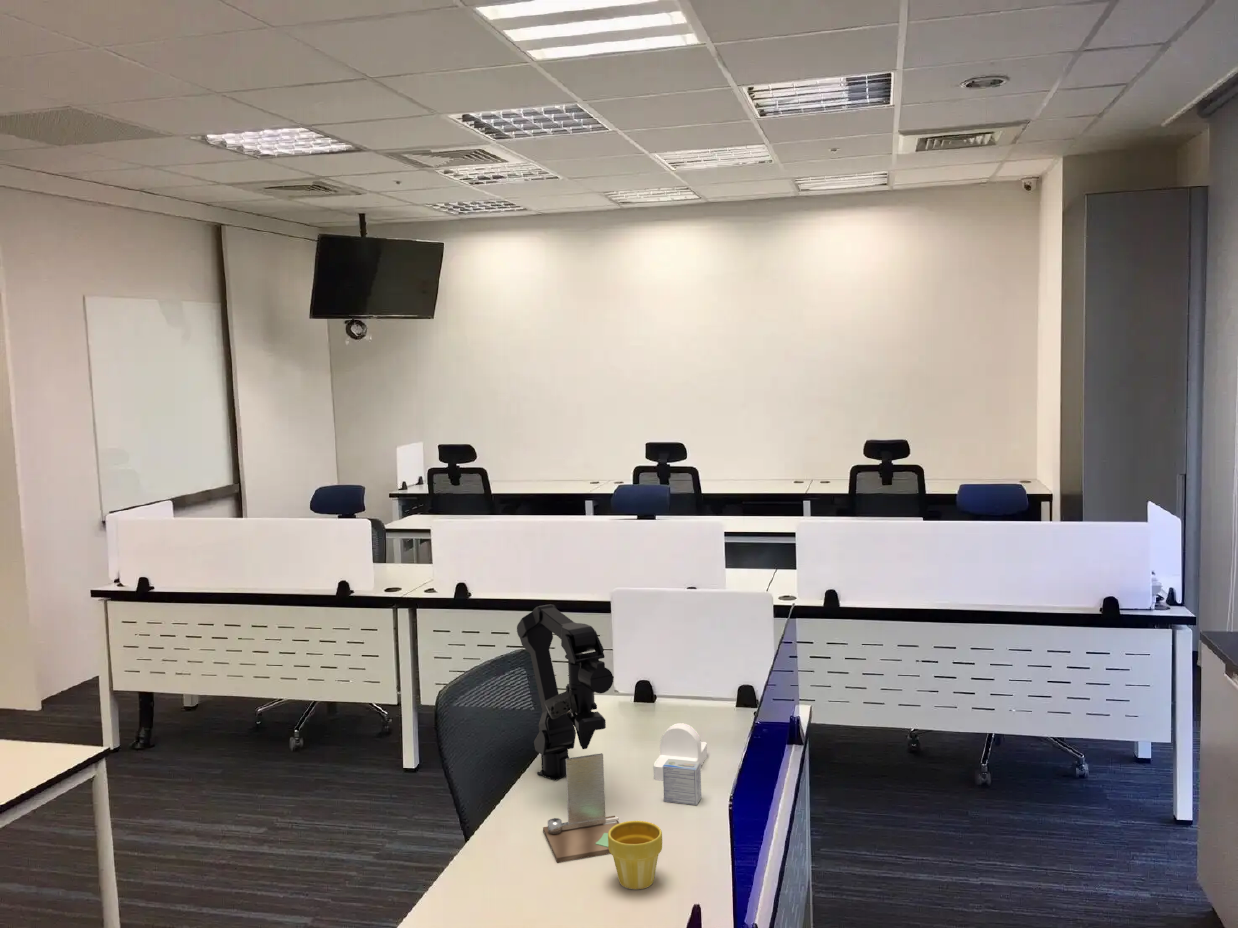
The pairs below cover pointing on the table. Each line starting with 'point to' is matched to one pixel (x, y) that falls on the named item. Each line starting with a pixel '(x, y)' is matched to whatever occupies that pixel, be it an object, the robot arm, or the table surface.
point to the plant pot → (635, 852)
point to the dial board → (580, 841)
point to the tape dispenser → (679, 747)
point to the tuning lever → (583, 794)
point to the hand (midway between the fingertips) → (583, 747)
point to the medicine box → (682, 781)
